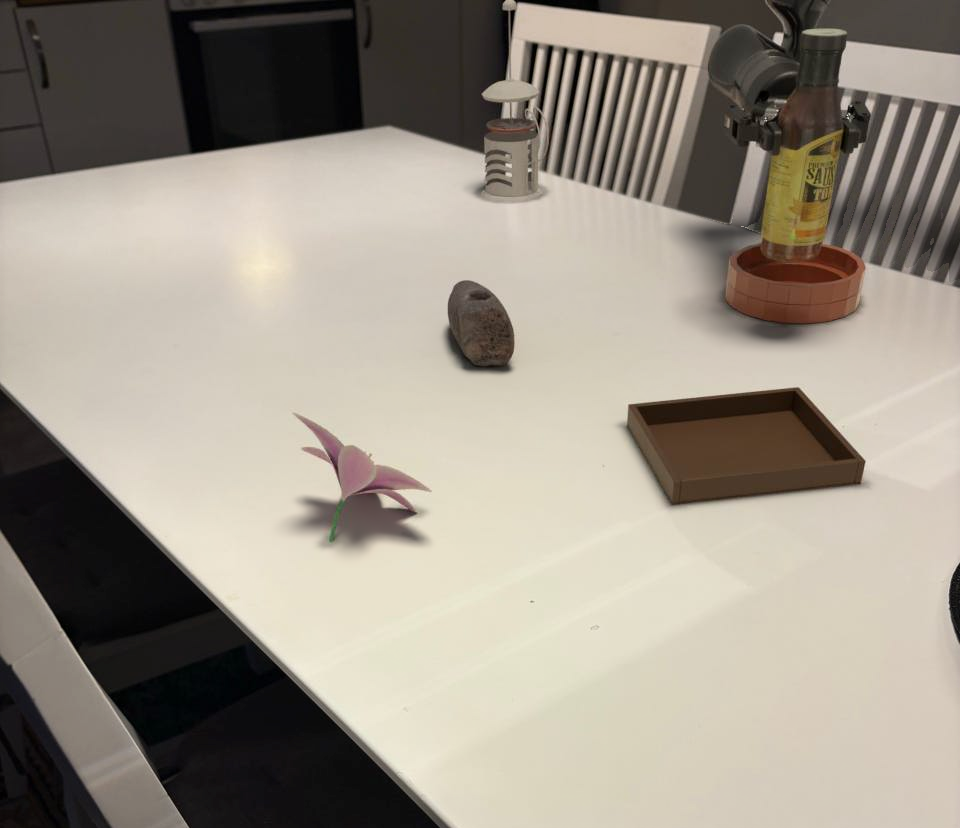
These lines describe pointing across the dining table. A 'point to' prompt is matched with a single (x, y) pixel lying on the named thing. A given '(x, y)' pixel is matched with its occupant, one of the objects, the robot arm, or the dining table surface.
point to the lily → (358, 470)
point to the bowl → (795, 285)
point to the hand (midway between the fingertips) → (814, 143)
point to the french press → (512, 141)
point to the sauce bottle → (806, 152)
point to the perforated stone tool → (480, 324)
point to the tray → (742, 445)
